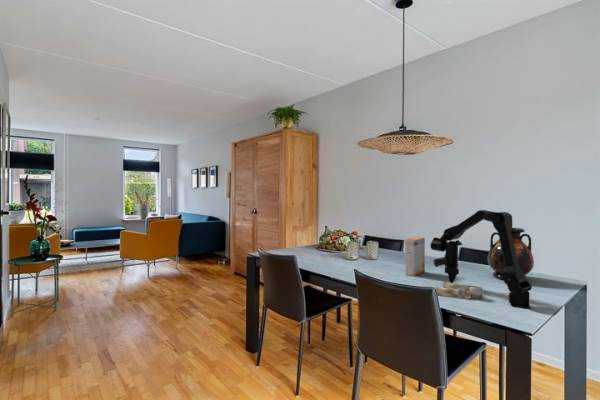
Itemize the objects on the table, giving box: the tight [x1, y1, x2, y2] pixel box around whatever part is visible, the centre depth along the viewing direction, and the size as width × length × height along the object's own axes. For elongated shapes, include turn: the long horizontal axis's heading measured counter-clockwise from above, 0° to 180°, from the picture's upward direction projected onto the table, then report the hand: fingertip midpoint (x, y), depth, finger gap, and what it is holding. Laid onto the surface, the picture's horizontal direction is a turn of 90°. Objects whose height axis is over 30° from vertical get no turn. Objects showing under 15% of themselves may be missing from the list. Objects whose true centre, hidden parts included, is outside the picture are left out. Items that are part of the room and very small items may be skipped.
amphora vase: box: [487, 227, 535, 281], centre depth 178 cm, size 22×22×28 cm
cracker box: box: [404, 236, 426, 277], centre depth 188 cm, size 14×6×21 cm, turn 134°
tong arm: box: [442, 281, 483, 300], centre depth 150 cm, size 18×5×4 cm, turn 35°
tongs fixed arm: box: [434, 286, 470, 300], centre depth 147 cm, size 14×3×4 cm, turn 65°
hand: (451, 283), depth 162 cm, fingers closed
